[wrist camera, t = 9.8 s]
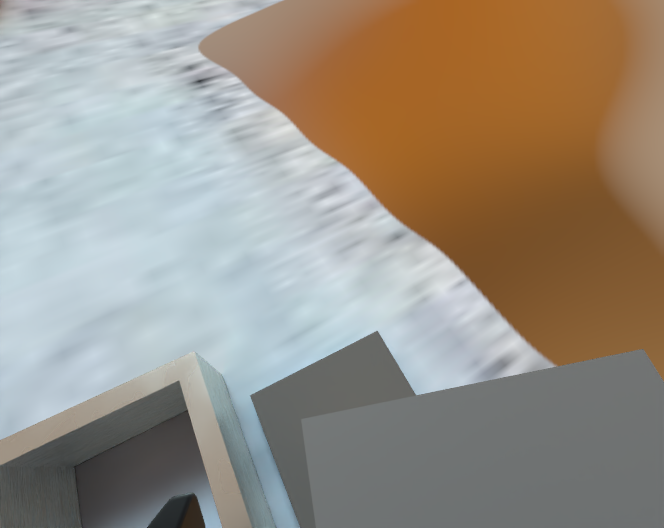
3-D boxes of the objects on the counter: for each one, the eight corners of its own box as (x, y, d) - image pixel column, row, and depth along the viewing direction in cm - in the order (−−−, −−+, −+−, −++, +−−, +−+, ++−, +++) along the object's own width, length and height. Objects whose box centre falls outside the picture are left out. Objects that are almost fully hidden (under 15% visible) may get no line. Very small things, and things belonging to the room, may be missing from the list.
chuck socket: (285, 554, 14) (270, 584, 10) (77, 686, 12) (-27, 776, 8) (221, 374, 17) (194, 351, 14) (51, 457, 15) (-31, 454, 12)
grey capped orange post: (457, 559, 13) (1037, 977, 2) (342, 588, 12) (416, 1264, 2) (421, 431, 15) (643, 349, 4) (321, 453, 14) (301, 419, 4)
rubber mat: (545, 630, 13) (565, 645, 12) (393, 758, 11) (399, 788, 10) (374, 338, 18) (377, 330, 17) (255, 399, 16) (250, 395, 15)
